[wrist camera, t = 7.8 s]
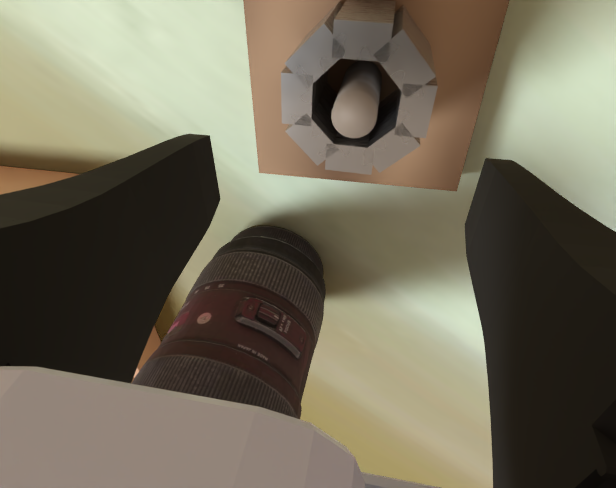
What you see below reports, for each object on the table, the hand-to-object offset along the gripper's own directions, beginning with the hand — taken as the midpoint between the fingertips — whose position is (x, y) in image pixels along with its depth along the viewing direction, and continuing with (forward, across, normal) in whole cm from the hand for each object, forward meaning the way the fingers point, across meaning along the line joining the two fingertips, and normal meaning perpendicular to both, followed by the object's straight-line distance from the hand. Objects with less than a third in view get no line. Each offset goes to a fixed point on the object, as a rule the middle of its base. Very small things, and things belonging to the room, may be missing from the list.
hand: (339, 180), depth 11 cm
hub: (+8, 0, 0) cm, 8 cm away
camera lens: (+10, +5, +13) cm, 17 cm away
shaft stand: (+10, 0, 0) cm, 10 cm away
